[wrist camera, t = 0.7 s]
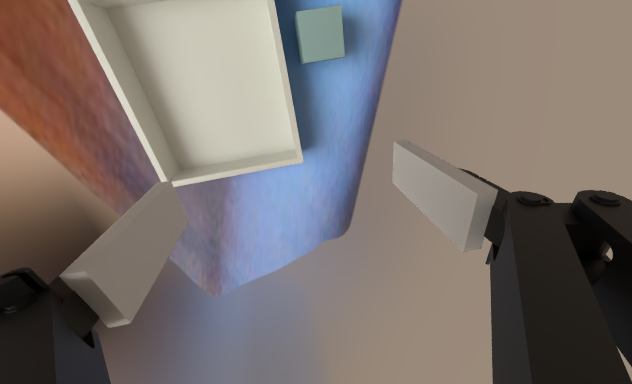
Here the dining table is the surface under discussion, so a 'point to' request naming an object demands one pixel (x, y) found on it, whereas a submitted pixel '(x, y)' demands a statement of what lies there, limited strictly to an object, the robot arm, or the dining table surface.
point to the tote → (198, 82)
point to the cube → (319, 34)
